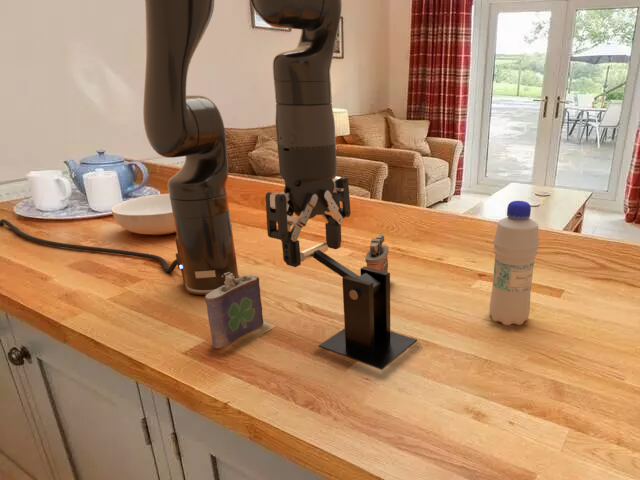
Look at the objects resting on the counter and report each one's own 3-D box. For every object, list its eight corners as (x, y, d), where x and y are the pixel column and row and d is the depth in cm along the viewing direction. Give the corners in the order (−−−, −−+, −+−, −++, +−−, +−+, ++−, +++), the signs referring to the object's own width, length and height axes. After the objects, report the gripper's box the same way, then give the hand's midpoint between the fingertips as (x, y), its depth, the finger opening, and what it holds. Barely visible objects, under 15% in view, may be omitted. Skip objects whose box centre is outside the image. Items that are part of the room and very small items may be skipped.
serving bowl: (151, 216, 134) (146, 191, 131) (224, 220, 131) (220, 194, 128) (96, 240, 115) (89, 212, 112) (180, 245, 112) (174, 216, 109)
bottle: (504, 336, 75) (516, 209, 67) (478, 318, 81) (487, 198, 73) (538, 326, 78) (553, 203, 70) (511, 309, 83) (523, 194, 76)
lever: (295, 261, 69) (298, 247, 68) (319, 251, 73) (322, 237, 72) (361, 306, 65) (365, 292, 64) (382, 292, 69) (387, 279, 68)
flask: (222, 356, 69) (210, 287, 65) (207, 351, 70) (195, 282, 66) (268, 329, 77) (261, 265, 72) (255, 324, 78) (246, 261, 74)
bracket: (318, 353, 70) (313, 277, 66) (357, 327, 77) (354, 257, 73) (382, 376, 65) (380, 296, 60) (417, 347, 72) (418, 272, 67)
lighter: (381, 300, 87) (380, 246, 83) (362, 298, 87) (361, 245, 83) (391, 282, 94) (391, 232, 90) (374, 280, 94) (373, 231, 91)
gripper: (321, 132, 71) (327, 238, 78) (243, 143, 60) (258, 266, 67) (362, 136, 68) (365, 247, 74) (288, 149, 57) (298, 278, 63)
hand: (314, 256), depth 71 cm, fingers open, 8 cm apart
